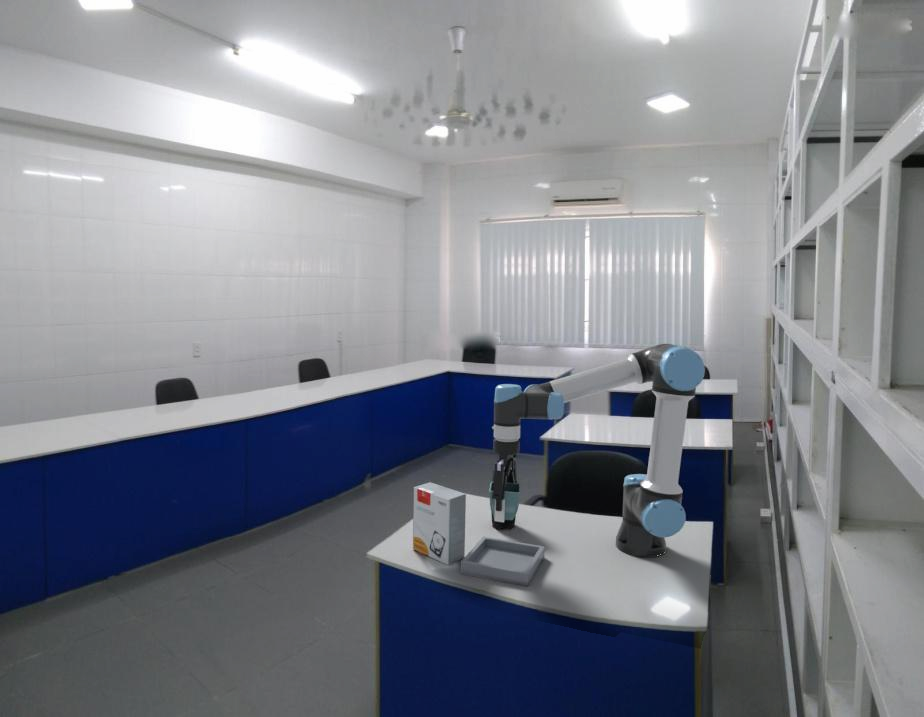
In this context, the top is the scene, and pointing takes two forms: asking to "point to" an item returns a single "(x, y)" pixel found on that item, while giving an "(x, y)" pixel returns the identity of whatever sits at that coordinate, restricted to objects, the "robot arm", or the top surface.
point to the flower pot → (507, 500)
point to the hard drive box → (439, 522)
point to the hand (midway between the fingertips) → (504, 515)
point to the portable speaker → (506, 523)
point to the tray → (503, 560)
